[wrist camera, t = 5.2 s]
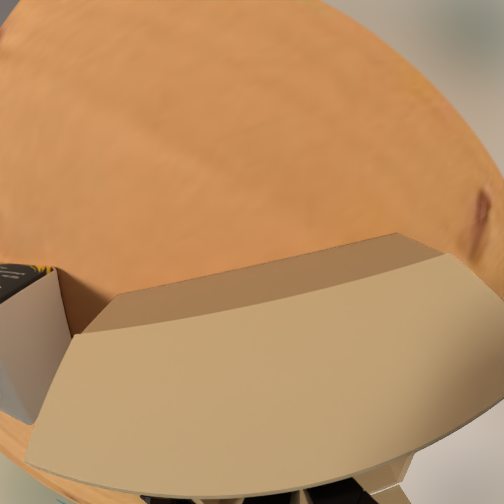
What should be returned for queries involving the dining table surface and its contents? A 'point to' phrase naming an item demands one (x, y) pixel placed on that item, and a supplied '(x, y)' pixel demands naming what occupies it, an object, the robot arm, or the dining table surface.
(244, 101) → the dining table surface
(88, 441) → the flap near
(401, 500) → the flap far
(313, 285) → the carton
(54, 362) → the medicine bottle
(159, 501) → the robot arm
